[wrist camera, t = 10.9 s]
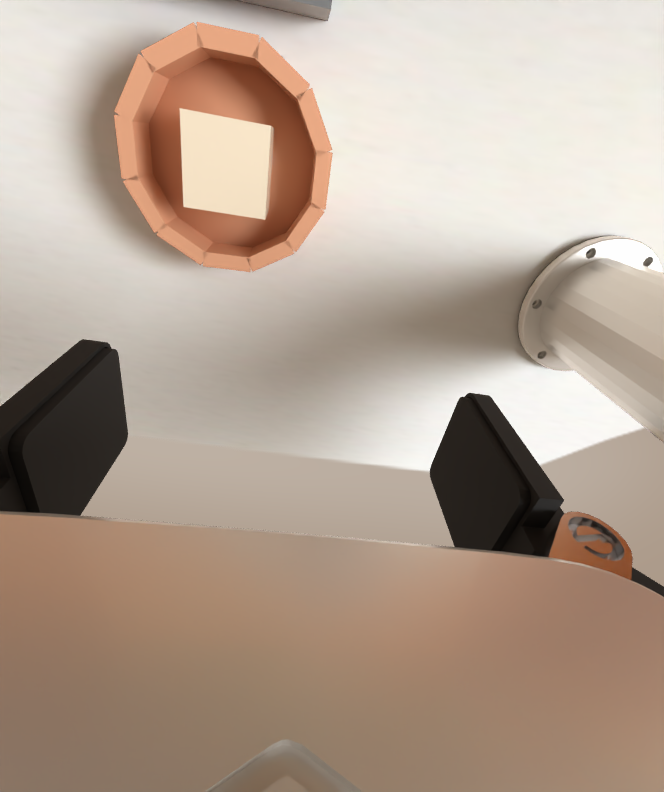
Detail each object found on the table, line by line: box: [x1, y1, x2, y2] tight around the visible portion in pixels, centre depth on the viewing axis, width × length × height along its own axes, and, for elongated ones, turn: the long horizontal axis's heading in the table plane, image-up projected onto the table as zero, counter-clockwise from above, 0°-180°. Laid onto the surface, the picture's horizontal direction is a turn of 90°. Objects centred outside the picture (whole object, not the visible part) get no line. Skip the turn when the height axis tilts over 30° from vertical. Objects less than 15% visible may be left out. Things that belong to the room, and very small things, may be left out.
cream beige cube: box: [180, 108, 274, 220], centre depth 25 cm, size 5×5×5 cm
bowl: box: [114, 22, 332, 272], centre depth 26 cm, size 13×13×4 cm
